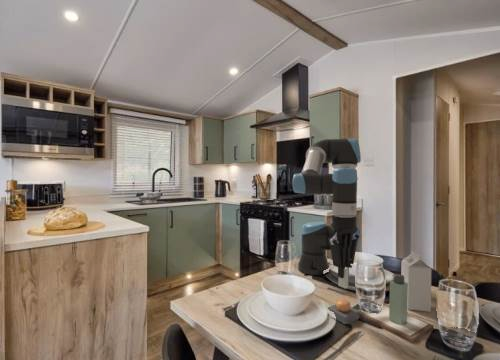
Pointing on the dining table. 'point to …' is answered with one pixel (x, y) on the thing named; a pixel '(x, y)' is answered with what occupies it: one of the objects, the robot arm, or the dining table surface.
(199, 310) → the dining table surface
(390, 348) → the dining table surface
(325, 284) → the dining table surface
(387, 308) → the wooden tray
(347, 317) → the button base
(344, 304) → the button
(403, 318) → the green tall block
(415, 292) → the milk carton
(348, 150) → the robot arm
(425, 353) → the dining table surface
